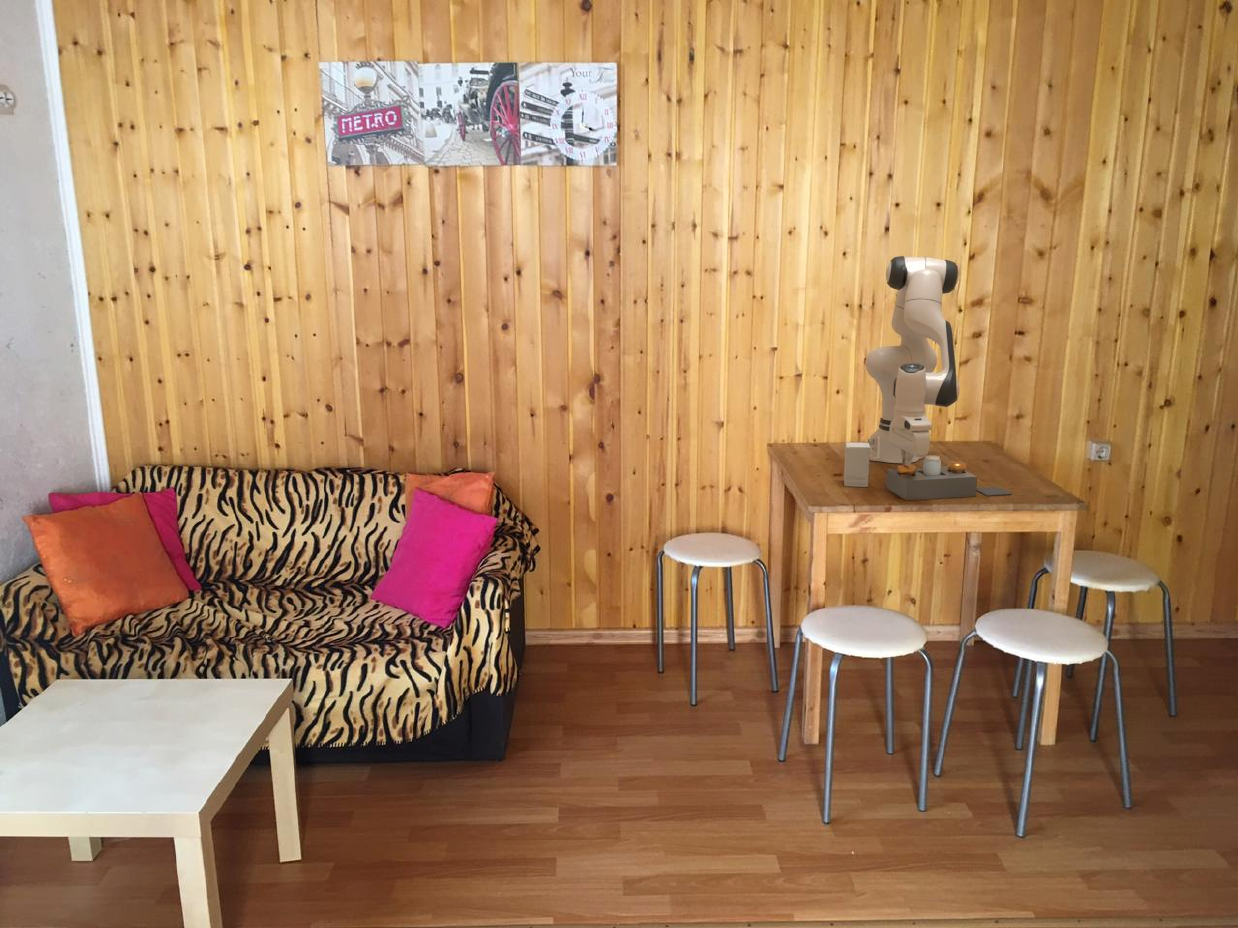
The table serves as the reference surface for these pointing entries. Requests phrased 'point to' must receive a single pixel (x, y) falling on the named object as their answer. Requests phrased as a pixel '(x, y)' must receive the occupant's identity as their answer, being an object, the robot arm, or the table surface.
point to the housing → (932, 484)
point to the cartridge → (932, 465)
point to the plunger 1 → (906, 470)
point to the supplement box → (856, 464)
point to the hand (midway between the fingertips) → (906, 464)
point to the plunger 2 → (956, 467)
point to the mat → (993, 491)
